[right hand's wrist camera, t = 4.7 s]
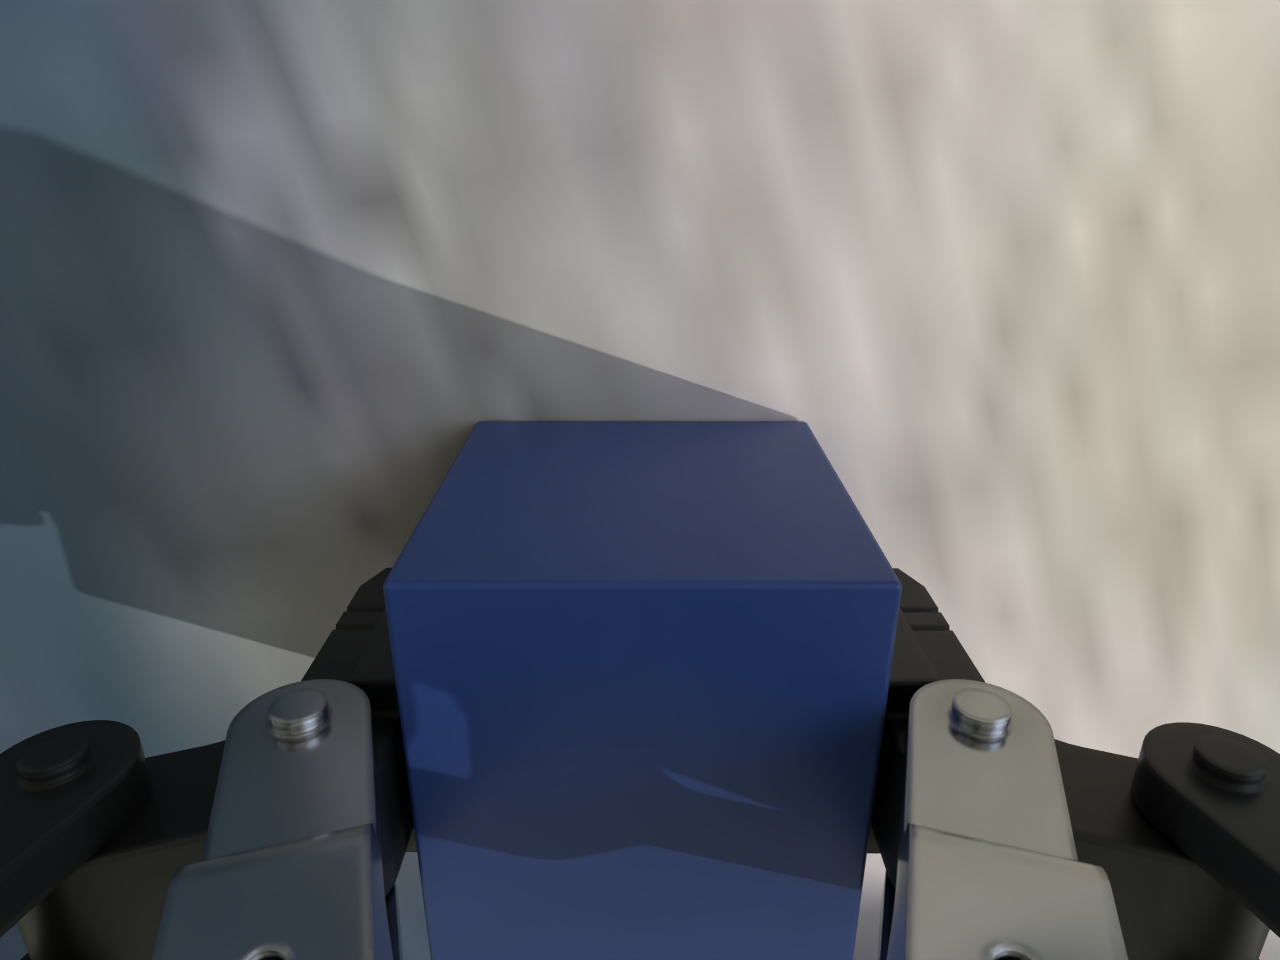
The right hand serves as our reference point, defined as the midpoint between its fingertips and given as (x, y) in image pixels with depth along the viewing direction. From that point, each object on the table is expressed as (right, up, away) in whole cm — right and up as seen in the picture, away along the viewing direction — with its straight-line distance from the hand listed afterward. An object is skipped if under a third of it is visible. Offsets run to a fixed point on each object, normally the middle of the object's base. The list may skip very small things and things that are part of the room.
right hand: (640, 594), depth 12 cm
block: (0, 0, +1) cm, 1 cm away
